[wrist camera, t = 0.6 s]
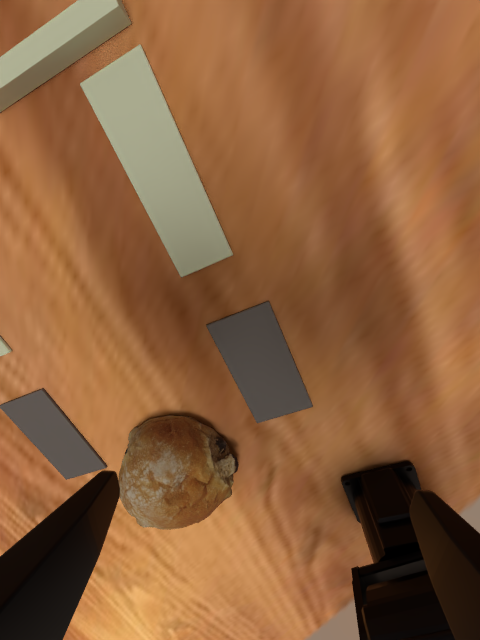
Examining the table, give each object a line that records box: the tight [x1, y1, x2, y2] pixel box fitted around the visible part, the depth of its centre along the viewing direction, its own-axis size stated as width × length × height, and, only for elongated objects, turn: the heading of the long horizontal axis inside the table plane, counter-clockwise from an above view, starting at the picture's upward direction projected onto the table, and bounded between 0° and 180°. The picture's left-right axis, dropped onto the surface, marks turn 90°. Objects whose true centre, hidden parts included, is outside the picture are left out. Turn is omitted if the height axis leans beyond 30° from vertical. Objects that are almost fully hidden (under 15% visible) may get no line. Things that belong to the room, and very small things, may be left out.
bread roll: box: [118, 415, 239, 529], centre depth 25 cm, size 10×10×8 cm
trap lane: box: [0, 0, 313, 480], centre depth 21 cm, size 28×26×2 cm
